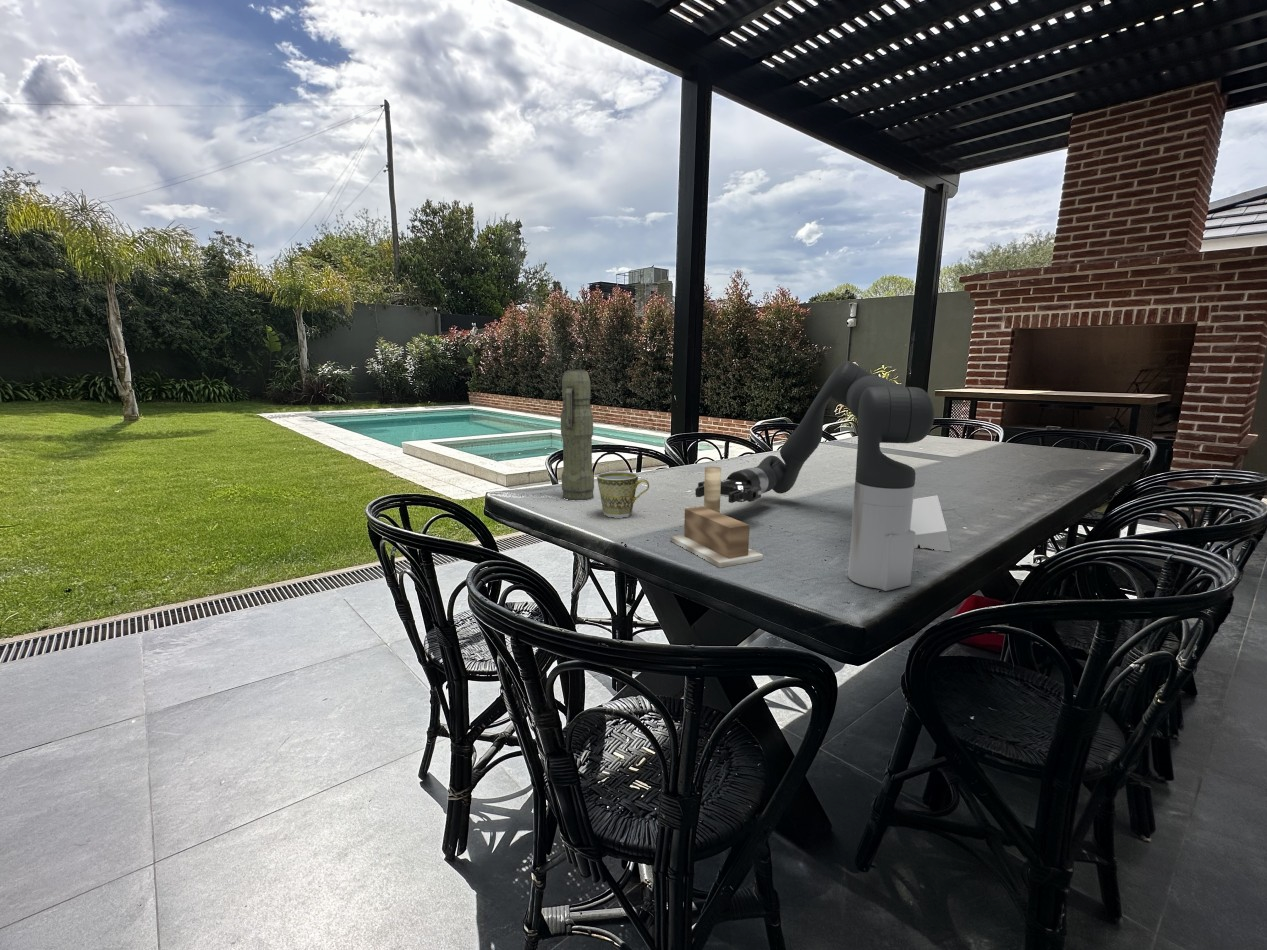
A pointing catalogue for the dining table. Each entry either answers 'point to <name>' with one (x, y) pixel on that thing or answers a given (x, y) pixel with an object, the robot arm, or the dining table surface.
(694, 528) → the stand
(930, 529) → the decorative molding
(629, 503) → the ceramic cup
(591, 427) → the thermos
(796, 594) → the dining table surface
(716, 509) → the dowel
